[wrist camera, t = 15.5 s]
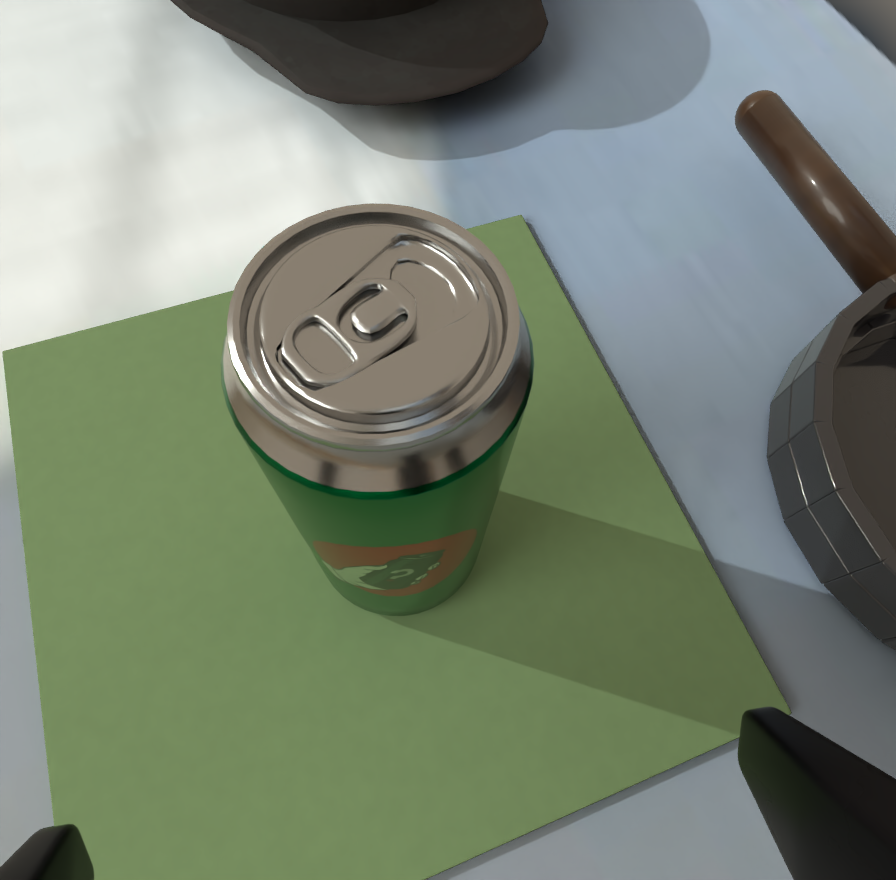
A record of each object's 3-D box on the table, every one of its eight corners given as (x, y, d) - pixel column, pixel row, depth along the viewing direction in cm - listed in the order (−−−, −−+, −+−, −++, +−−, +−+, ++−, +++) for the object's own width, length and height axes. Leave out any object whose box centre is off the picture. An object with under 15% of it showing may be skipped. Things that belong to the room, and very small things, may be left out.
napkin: (787, 713, 19) (792, 713, 19) (82, 1031, 15) (76, 1037, 15) (520, 219, 26) (521, 214, 26) (6, 355, 23) (1, 351, 23)
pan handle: (912, 311, 23) (949, 279, 21) (871, 325, 23) (906, 293, 21) (755, 115, 27) (777, 75, 25) (719, 124, 27) (738, 84, 25)
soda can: (512, 545, 20) (617, 328, 9) (389, 656, 19) (345, 550, 8) (408, 435, 22) (396, 138, 11) (286, 530, 20) (130, 294, 9)
